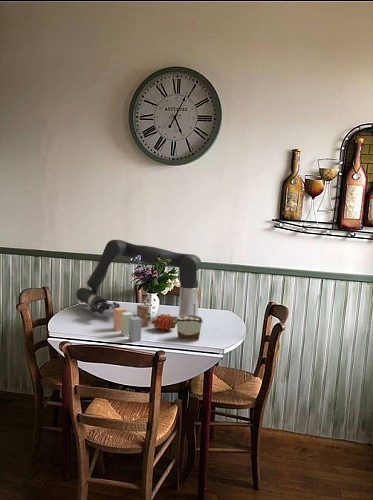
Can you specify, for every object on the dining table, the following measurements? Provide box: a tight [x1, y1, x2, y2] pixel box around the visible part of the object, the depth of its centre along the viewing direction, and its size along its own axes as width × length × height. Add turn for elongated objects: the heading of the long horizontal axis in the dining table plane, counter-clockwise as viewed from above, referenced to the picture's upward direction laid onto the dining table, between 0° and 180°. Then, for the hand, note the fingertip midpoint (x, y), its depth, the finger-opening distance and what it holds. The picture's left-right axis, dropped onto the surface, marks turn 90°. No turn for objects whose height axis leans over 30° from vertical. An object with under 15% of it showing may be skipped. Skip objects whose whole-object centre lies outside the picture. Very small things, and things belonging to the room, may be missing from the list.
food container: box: [175, 315, 204, 341], centre depth 210 cm, size 12×6×10 cm, turn 92°
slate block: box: [128, 316, 142, 343], centre depth 203 cm, size 4×4×10 cm
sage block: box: [120, 311, 134, 337], centre depth 210 cm, size 4×4×10 cm
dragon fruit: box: [151, 313, 177, 332], centre depth 219 cm, size 8×8×12 cm
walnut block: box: [136, 304, 149, 329], centre depth 223 cm, size 4×4×10 cm
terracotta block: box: [113, 306, 127, 332], centre depth 216 cm, size 4×4×10 cm
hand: (110, 311), depth 225 cm, fingers open, 8 cm apart
